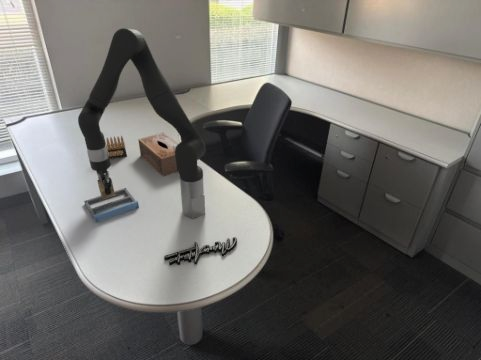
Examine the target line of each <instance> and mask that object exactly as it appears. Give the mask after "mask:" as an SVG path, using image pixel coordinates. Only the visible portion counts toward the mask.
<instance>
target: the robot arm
mask: <svg viewBox="0 0 481 360" xmlns="http://www.w3.org/2000/svg"><path fill="white" fill-rule="evenodd" d="M129 61H131V62H132V63H133V66H134V67H135V68H136V69H135V70H137V72H138V74H139V77H140V79H141V83H142V87H143V90H144V93H145V96H146V99H147V100H148V102H149V103H150V105H151V108H153V110H154V112H155V113H156V114H157V116H158V117H160V118H161V119H162V120H164V121H166V122H167V124H170V125H171V126H172V127H173V128H174V129H175V130H176V132H177V133H178V135H179V136H180V139H181V140H182V141H180V142H179V143H178V145H177V146H176V148H175V159H176V166H177V171H178V172H177V173H178V175H179V184H180V186H179V187H180V199H181V209H182V213H183V215H185V216H186V217H189V218H191V219H196V218H197V217H200V216H203V215H205V214H206V201H205V199H206V198H205V192H204V191H205V190H204V189H205V187H204V170H203V168H202V167H201V166H200V165H198V161H199V160H200V159H201V158H202V157H203V156H204V155H205V154H206V144H205V141H204V140H203V139H202V137H201V135H200V134H199V132H198V131H197V129H196V128H195V127H194V125H193V124H192V122H191V120H190V119H189V118H188V116H187V114H186V113H185V111H184V109H183V107H182V106H181V104H180V102H179V100H178V98H177V96H176V94H175V93H174V91H173V89H172V87H171V86H170V84H169V83H168V81H167V80H166V77H165V75H164V73H162V71H161V70H160V69H161V68H159V66H158V64H157V62H156V60H155V58H154V57H153V54H152V52H151V49H150V47H149V45H148V43H147V40H146V38H145V37H144V35H143V34H142V33H141V32H140V31H138V30H137V29H134V28H128V27H124V28H119V29H117V30H116V31H115V32H114V34H113V36H112V39H111V42H110V45H109V48H108V52H107V55H106V57H105V60H104V64H103V66H102V69H101V71H100V74H99V76H98V78H97V80H96V82H95V84H94V86H93V87H92V90H91V91H90V94H89V96H88V99H87V101H86V102H85V104H84V105H83V107H82V109H81V111H80V113H79V114H78V116H77V117H78V118H77V120H78V121H77V122H78V126H79V127H78V128H79V130H80V132H81V134H82V136H83V138H84V142H85V145H86V149H87V150H86V152H87V157H88V161H89V164H90V168H91V170H92V171H95V173H96V175H97V178H98V179H97V180H101V183H102V184H103V187H104V189H105V194H106V195H109V194H111V189H110V187H112V185H111V179H112V178H111V177H110V172H109V170H108V169H109V168H110V167H111V166H112V165H111V159H110V158H109V153H108V148H107V147H106V145H107V142H106V140H105V139H106V138H105V135H104V133H103V132H102V131H101V127H100V121H101V119H102V116H103V114H104V112H105V110H106V109H107V107H108V106H109V105H110V103H111V100H112V99H113V97H114V95H115V93H116V92H117V88H118V85H119V80H120V76H121V74H122V72H123V71H124V68H125V66H126V65H127V64H128V62H129ZM105 142H106V143H105ZM109 177H110V178H109ZM103 180H104V181H103Z"/></svg>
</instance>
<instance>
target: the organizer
mask: <svg viewBox="0 0 481 360" xmlns="http://www.w3.org/2000/svg"><path fill="white" fill-rule="evenodd" d="M114 193H115V196H118V195H121V194H124V193H125V195H126V196H125V197H121V198H120V199H116V200H114V201H110V202H107V203H104V204H102V205H98V206H95V207H91V204H93V203H97V202H100V201H103V200H104V199H103V198H102V197H101V195H99V196H95V197H93V198H89V199H87V200H84V205H85V206H86V208H87V210H88V212H89V214H90V216H91V217H92V219H93V220H94V222H95V223H98V222H101V221H104V220H108V219H110V218H113V217H115V216H118V215H121V214H124V213H127V212H130V211H133V210H135V209H139V207H140V204H139V201H138V200H136V199H135V198H134V197H133V195H132V194H131V193H130V191H129V190H128V189H127V187H124V188H121V189H117V190H114ZM129 201H131V202H129ZM126 202H128V203H126ZM123 203H125V204H123ZM119 204H123V205H119ZM117 205H119V206H117ZM114 206H117V207H114ZM111 207H114V208H111ZM107 208H108V210H105V209H107ZM109 208H111V209H109ZM103 210H105V211H103ZM99 211H102V212H100V213H97V214H95V213H96V212H99Z"/></svg>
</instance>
